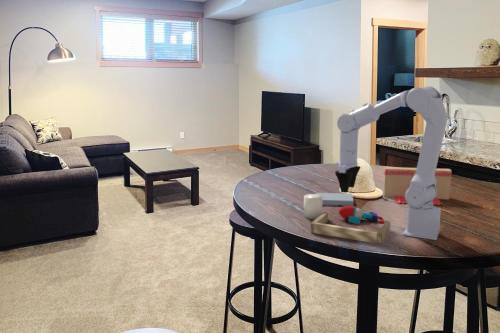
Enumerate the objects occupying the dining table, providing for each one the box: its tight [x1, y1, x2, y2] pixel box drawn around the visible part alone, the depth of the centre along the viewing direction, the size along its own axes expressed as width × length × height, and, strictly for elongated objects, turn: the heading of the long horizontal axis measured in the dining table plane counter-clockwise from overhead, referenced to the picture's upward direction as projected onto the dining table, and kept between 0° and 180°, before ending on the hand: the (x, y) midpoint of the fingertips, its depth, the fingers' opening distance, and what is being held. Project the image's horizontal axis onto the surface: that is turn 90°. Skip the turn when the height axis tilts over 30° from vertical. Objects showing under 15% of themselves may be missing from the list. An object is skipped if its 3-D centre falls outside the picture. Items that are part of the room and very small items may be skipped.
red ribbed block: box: [382, 166, 453, 206], centre depth 167 cm, size 25×13×12 cm, turn 77°
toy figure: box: [338, 206, 386, 224], centre depth 146 cm, size 8×5×15 cm
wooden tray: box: [310, 211, 391, 245], centre depth 135 cm, size 21×13×3 cm, turn 61°
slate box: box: [315, 192, 355, 207], centre depth 168 cm, size 14×10×2 cm
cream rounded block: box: [303, 193, 323, 220], centre depth 151 cm, size 6×6×7 cm
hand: (347, 189), depth 148 cm, fingers open, 7 cm apart
